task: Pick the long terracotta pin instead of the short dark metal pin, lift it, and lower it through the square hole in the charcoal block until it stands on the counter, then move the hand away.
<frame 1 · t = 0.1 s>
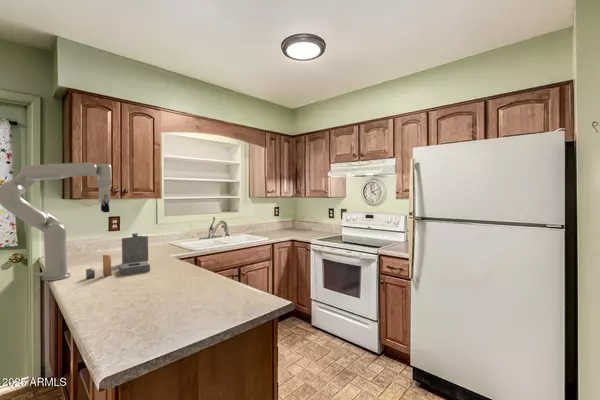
hand: (105, 211, 179), 37 cm above the worktop, tool pointing down, fingers open, 9 cm apart
long pin: (107, 275, 170), on the worktop
hole block: (134, 271, 179), on the worktop
hip flask: (135, 262, 201), on the worktop
short pin: (90, 278, 165), on the worktop
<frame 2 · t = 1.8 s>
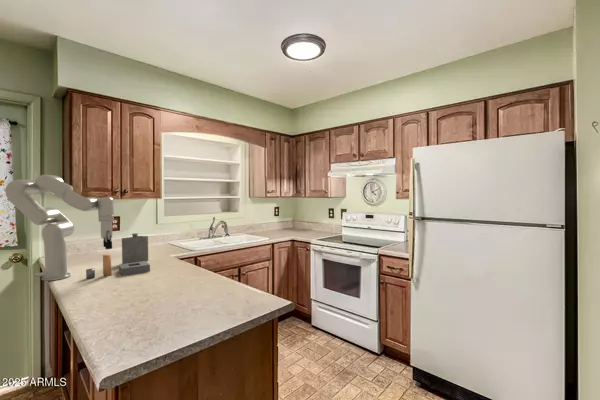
hand: (107, 247, 169), 16 cm above the worktop, tool pointing down, fingers open, 9 cm apart
nothing on the worktop moved.
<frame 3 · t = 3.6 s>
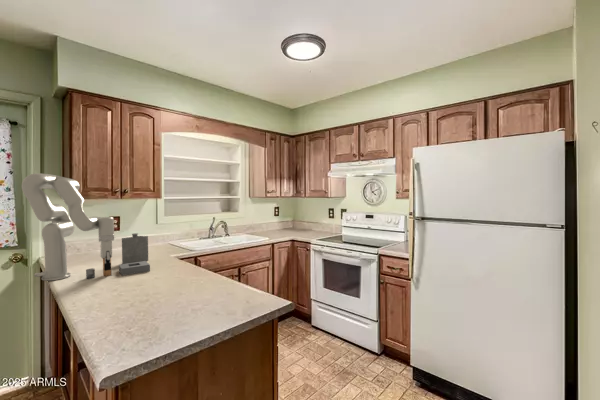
hand: (107, 268, 170), 4 cm above the worktop, tool pointing down, fingers closed on long pin, 4 cm apart
long pin: (107, 275, 170), on the worktop, touching gripper
everything else where it was.
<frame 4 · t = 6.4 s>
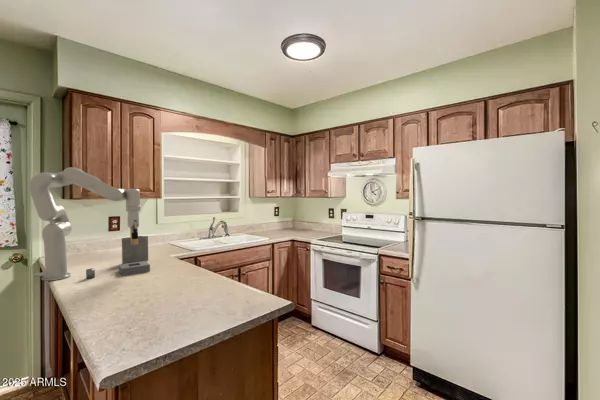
hand: (134, 238, 178), 20 cm above the worktop, tool pointing down, fingers closed on long pin, 4 cm apart
long pin: (134, 244, 178), point 17 cm above the worktop, touching gripper
everything else where it was.
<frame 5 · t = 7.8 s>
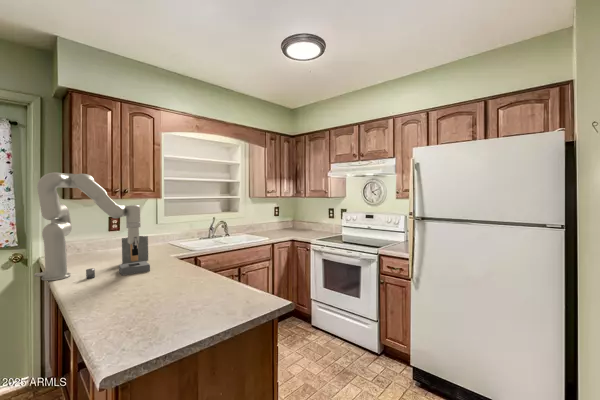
hand: (134, 254, 178), 10 cm above the worktop, tool pointing down, fingers closed on long pin, 4 cm apart
long pin: (134, 260, 179), point 7 cm above the worktop, touching gripper
everything else where it was.
when the fingers open (5 cm above the worktop, at t = 9.1 s): long pin drops 1 cm, resting in hole block.
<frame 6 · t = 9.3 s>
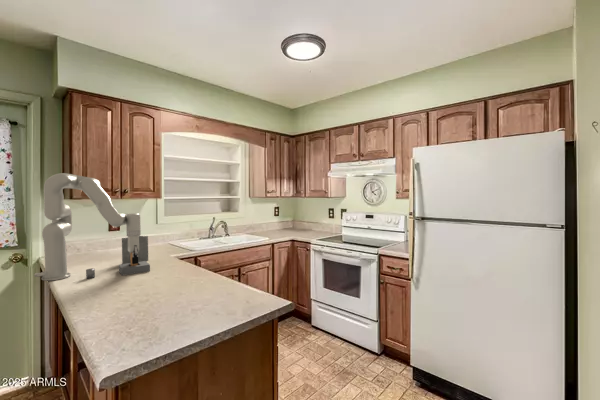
hand: (134, 262, 179), 6 cm above the worktop, tool pointing down, fingers open, 5 cm apart
long pin: (134, 271, 179), resting in hole block
everything else where it was.
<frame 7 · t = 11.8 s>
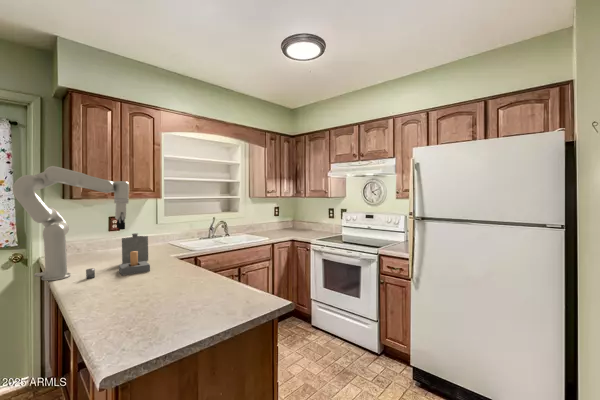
hand: (120, 228, 180), 26 cm above the worktop, tool pointing down, fingers open, 9 cm apart
nothing on the worktop moved.
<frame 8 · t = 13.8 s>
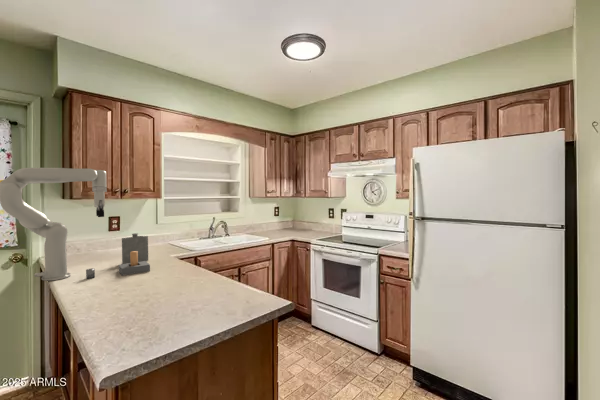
hand: (100, 216, 184), 33 cm above the worktop, tool pointing down, fingers open, 9 cm apart
nothing on the worktop moved.
at the end: long pin 0.0 cm off-centre on the hole block, point 0.0 cm above the hole block's base; long pin tilted 0°; short pin moved 0.1 cm from its start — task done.
